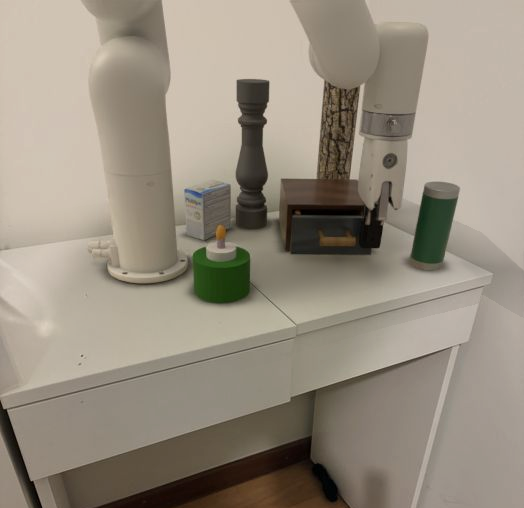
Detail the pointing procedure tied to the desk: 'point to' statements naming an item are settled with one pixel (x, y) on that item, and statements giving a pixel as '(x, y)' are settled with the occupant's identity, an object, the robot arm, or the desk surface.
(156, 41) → the robot arm
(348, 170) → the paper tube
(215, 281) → the candle
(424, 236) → the can
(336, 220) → the drawer
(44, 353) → the desk surface
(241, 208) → the candle holder
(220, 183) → the medicine box
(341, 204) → the cabinet
